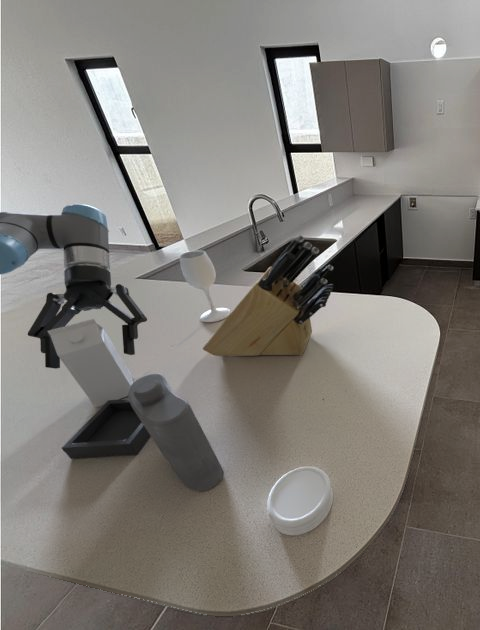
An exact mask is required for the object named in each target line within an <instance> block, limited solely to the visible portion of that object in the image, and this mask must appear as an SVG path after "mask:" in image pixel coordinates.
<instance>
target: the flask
mask: <svg viewBox="0 0 480 630" xmlns="http://www.w3.org/2000/svg"><path fill="white" fill-rule="evenodd" d="M127 397H128V398H127V399H129V402H130V404H131V406H132V408H133V409H134V411H135V412H136V414H137V416H138V417H139V419H140V420H141V422H142V423H143V425H144V426H145V428H146V429H147V431H148V433H149V434H150V436H151V437H150V438H151V439H152V440H153V442H154V443H155V446H156V447H157V448H158V449H159V451H160V453H161V454H162V456H163V457H164V459H165V460H166V462H167V464H168V465H169V467H170V468H171V469H172V471H173V473H174V475H175V476H176V477H177V479H179V481H180V482H181V483H182V484H183V485H184V486H186V487H187V488H189V489H190V490H192V491H194V492H205V491H208V490H210V489H212V488H214V487H215V486H217V484H219V483H220V481H222V478H223V477H224V473H225V471H224V469H223V467H222V465H221V462H220V461H219V459H218V457H217V455H216V453H215V451H214V449H213V447H212V445H211V443H210V441H209V440H208V437H207V435H206V433H205V432H204V430H203V427H202V426H201V424H200V422H199V420H198V418H197V416H196V414H195V412H194V411H193V409H192V407H191V404H190V403H189V401H187V400H186V399H183V398H181V397H180V396H178V395H177V394H175V393H174V392H173V389H172V388H171V386H170V384H169V382H168V380H167V378H166V377H165V375H164V374H162V373H151V374H148V375H144V376H142V377H140V378H138V379H136V380H134V381H133V384H132V385H131V386H130V388H129V390H128V396H127Z"/></svg>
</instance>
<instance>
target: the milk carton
mask: <svg viewBox="0 0 480 630" xmlns="http://www.w3.org/2000/svg"><path fill="white" fill-rule="evenodd" d="M47 332H48V333H49V334H50V336H51V339H52V341H53V344H54V347H55V350H56V352H57V355H58V356H59V358H60V362H62V363H63V365H64V366H65V368H66V369H67V371H68V372H69V373H70V375H71V376H72V377H73V378H74V380H75V381H76V383H77V384H78V385H79V387H80V389H82V391H83V392H84V394H85V396H87V398H88V399H89V401H90V402H91V404H92V405H93V406H94V407H95V408H101V407H102V406H103V405H104V404H105V403H106V402H107V401H108V400H122V399H124V398H126V397H128V390H129V388H130V386H131V385H132V384H133V383H134V377H133V374H131V372H130V370H129V368H128V367H127V365H126V364H125V362H124V360H123V359H122V356H121V355H120V354H119V352H118V350H117V348H116V347H115V345H114V344H113V342H112V340H111V339H110V337H109V335H108V334H107V332H106V330H105V329H104V327H103V326H102V325H100V324H98V322H96V320H95V319H94V318H91V319H87V320H83V321H79V322H77V323H73V324H69V325H68V324H67V325H66V326H64V327H61V328H57V329H53V330H49V331H47Z"/></svg>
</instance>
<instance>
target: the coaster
mask: <svg viewBox="0 0 480 630" xmlns="http://www.w3.org/2000/svg"><path fill="white" fill-rule="evenodd" d="M333 502H334V492H333V486H332V483H331V479H330V477H329V476H328V474H327V473H326V472H325V471H324V470H322V469H321V468H319V467H316V466H313V465H312V466H311V465H307V466H305V465H304V466H300V467H296V468H294V469H292V470H290V471H288V472H286V473H285V474H283V475H282V476H281V477H280V478H279V479H278V480H277V481H275V483H274V485H273V486H272V488H271V490H270V492H269V495H268V498H267V503H266V508H267V514H268V517H269V518H270V520H271V523H272V525H273V527H274V528H275V529H276V530H277V531H278V532H279V533H281V534H284V535H287V536H292V537H293V536H301V535H305V534H307V533H309V532H311V531H313V530H315V529H316V528H317V527H318V526H319V525H321V524H322V522H324V521H325V519H326V518H327V517H328V515H329V513H330V511H331V509H332V506H333Z"/></svg>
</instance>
